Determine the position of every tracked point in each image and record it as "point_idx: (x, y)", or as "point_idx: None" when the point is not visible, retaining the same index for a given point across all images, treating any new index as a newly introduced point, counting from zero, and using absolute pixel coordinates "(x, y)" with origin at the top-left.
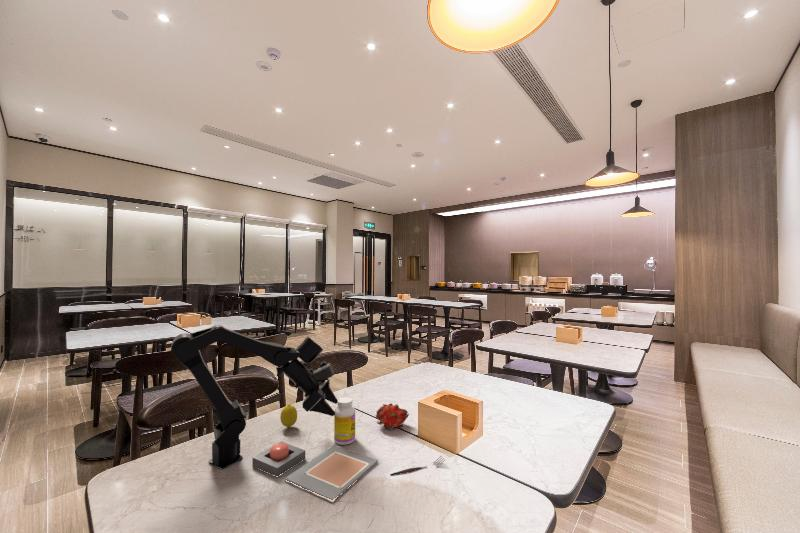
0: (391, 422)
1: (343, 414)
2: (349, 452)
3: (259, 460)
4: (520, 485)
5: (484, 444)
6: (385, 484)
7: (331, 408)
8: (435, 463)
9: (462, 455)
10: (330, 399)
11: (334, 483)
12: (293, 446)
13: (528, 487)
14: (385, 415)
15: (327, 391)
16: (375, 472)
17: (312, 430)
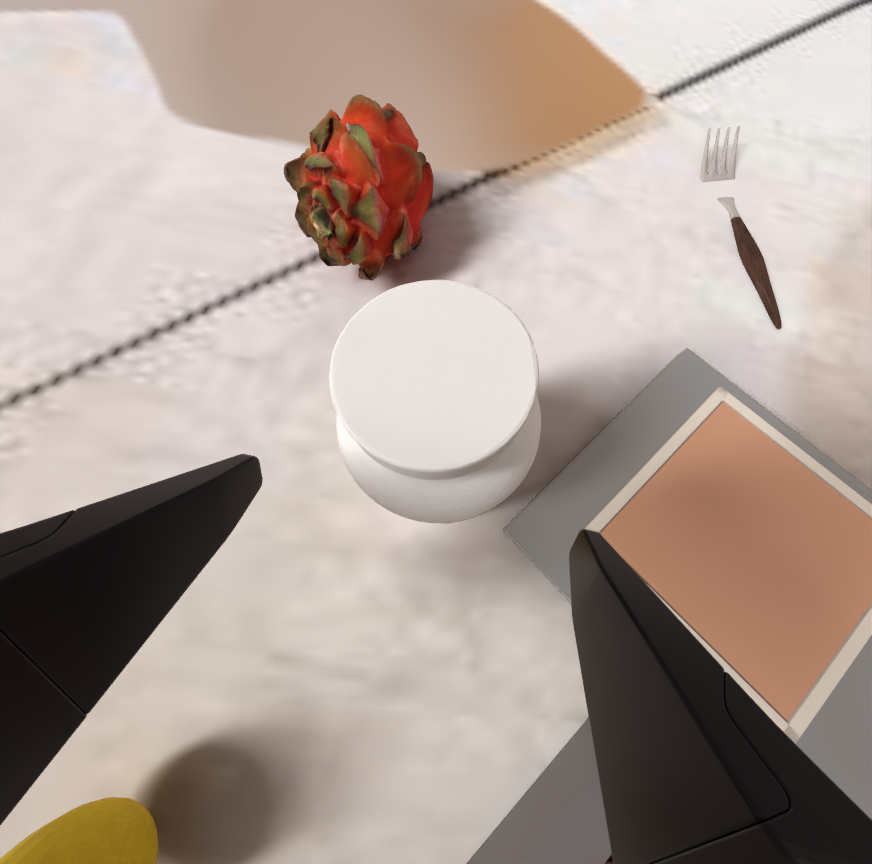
0: (422, 212)
1: (539, 439)
2: (601, 461)
3: None
4: (841, 25)
5: (606, 22)
6: (839, 358)
7: (635, 594)
8: (715, 170)
9: (665, 90)
10: (198, 551)
11: None
12: (545, 849)
13: (850, 14)
14: (398, 203)
15: (24, 630)
16: (751, 377)
17: (258, 642)
